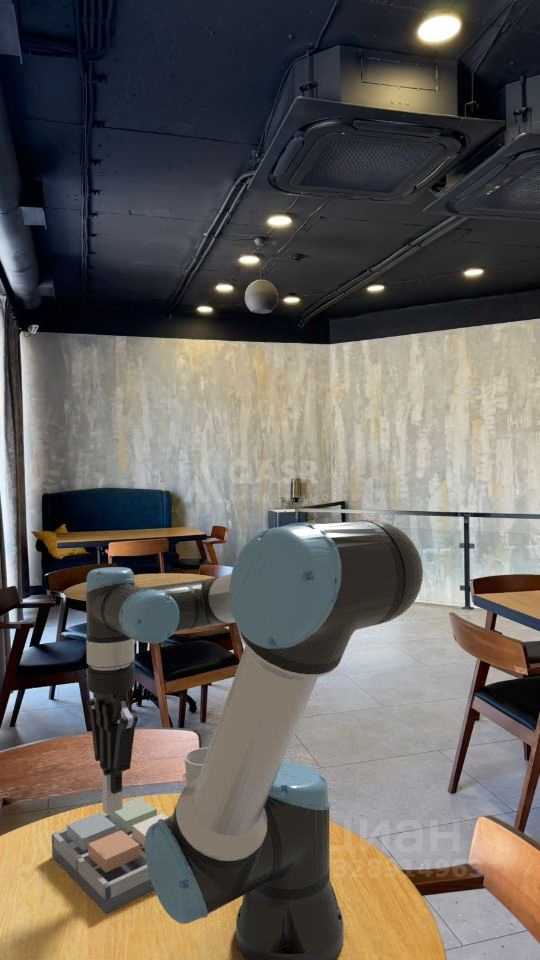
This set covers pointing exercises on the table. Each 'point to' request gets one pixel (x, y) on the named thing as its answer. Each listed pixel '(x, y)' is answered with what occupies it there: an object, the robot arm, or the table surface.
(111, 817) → the key sage
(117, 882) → the keypad base
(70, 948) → the table surface
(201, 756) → the cup
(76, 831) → the key slate
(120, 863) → the key terracotta
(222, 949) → the table surface
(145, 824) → the key cream
